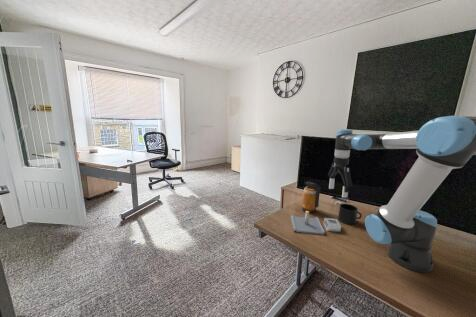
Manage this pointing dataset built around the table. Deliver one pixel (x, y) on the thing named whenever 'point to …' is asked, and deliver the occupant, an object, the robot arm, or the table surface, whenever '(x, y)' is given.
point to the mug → (348, 214)
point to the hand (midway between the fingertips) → (337, 192)
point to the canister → (311, 197)
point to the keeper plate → (305, 227)
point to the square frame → (332, 224)
